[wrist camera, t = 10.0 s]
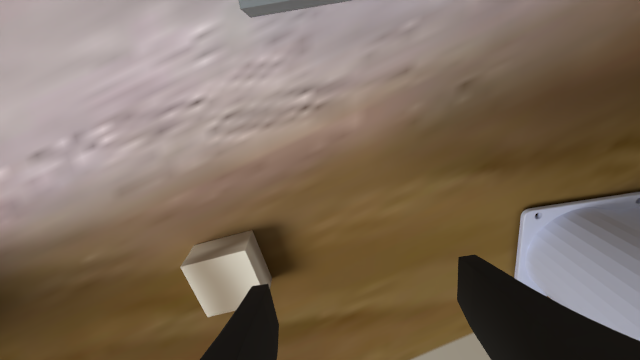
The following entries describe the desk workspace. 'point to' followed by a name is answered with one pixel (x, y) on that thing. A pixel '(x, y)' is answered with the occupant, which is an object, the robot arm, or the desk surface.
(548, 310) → the robot arm
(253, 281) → the short peg
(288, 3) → the hole board
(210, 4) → the desk surface
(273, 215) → the desk surface
